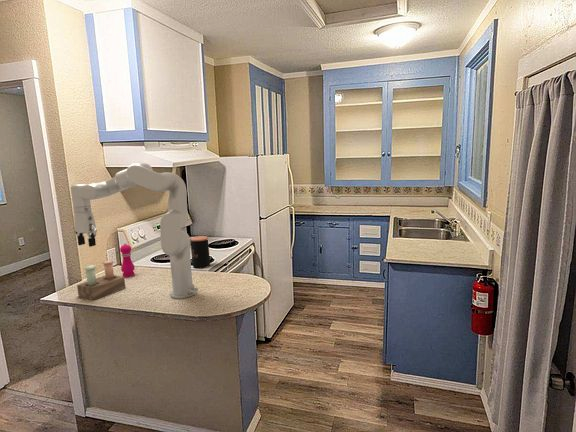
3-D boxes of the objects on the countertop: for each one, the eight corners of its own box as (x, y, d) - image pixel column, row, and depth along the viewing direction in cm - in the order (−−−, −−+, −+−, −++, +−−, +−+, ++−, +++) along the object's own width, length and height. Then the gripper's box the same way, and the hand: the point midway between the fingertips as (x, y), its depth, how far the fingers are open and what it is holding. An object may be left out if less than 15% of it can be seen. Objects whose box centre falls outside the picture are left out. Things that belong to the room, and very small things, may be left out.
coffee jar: (191, 265, 230) (188, 237, 227) (208, 262, 235) (205, 235, 232) (194, 269, 221) (191, 240, 218) (211, 267, 225) (209, 238, 222)
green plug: (99, 286, 185) (97, 265, 183) (91, 289, 181) (88, 268, 179) (93, 284, 187) (91, 264, 185) (84, 287, 183) (82, 267, 181)
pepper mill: (119, 276, 213) (115, 243, 210) (129, 273, 219) (126, 240, 216) (127, 278, 210) (123, 244, 206) (138, 274, 216) (134, 241, 213)
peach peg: (117, 279, 194) (114, 260, 192) (109, 282, 189) (106, 263, 188) (111, 278, 196) (108, 259, 194) (103, 281, 192) (100, 262, 190)
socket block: (125, 287, 194) (124, 276, 193) (93, 300, 178) (92, 288, 177) (110, 284, 200) (109, 274, 199) (78, 296, 184) (77, 285, 183)
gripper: (101, 209, 177) (105, 245, 180) (78, 208, 185) (83, 242, 188) (86, 211, 170) (91, 248, 173) (63, 210, 178) (68, 245, 181)
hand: (87, 245), depth 180 cm, fingers open, 7 cm apart
